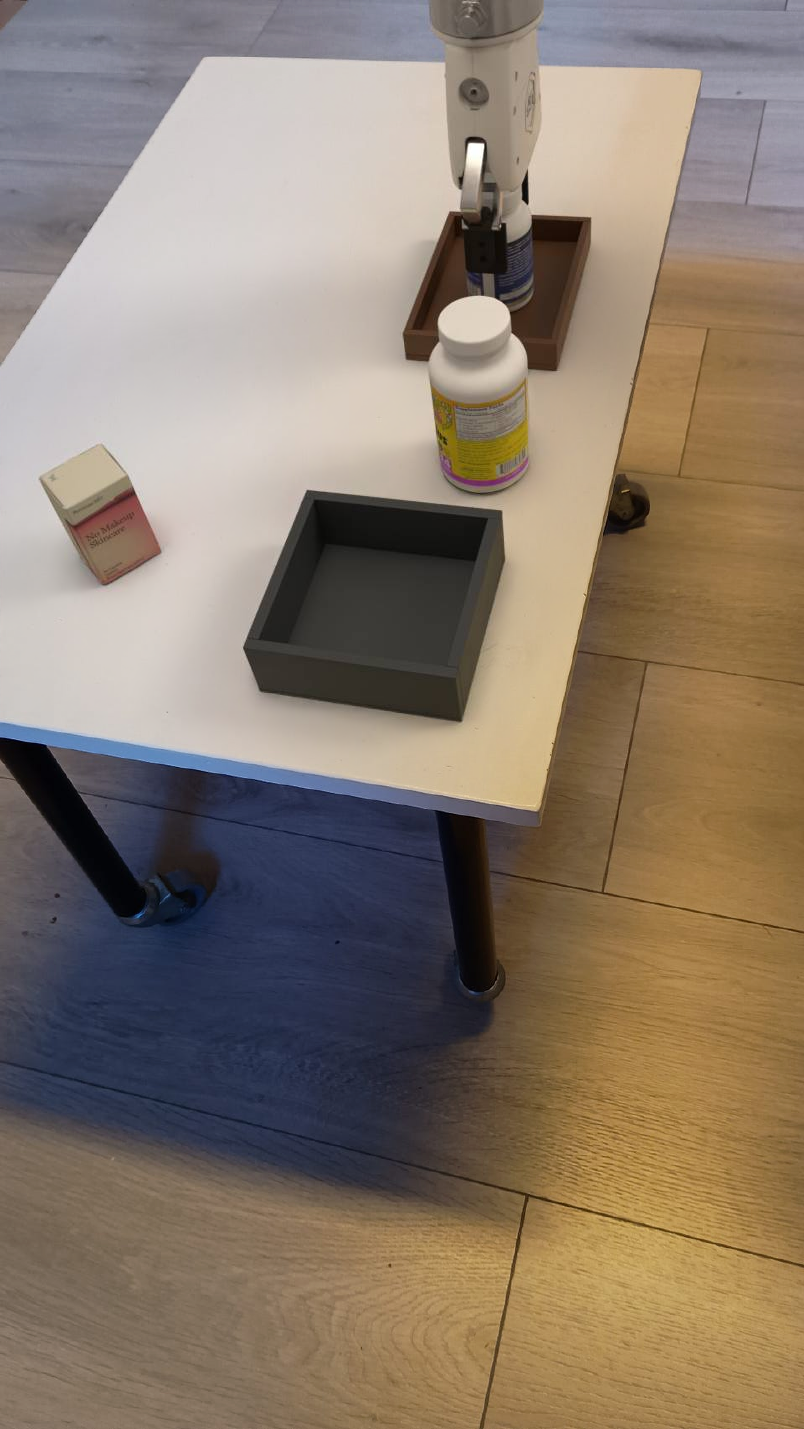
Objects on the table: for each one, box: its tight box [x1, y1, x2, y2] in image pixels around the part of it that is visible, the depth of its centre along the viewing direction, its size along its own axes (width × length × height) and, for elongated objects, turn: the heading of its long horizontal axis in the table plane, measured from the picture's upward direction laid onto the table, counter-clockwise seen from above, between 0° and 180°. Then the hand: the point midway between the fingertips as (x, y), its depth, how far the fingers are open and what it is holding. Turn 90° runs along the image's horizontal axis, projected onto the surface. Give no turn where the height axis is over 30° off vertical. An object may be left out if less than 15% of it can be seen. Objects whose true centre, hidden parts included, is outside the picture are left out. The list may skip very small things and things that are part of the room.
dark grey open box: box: [242, 489, 506, 723], centre depth 73 cm, size 14×14×5 cm
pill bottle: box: [463, 173, 534, 312], centre depth 87 cm, size 5×5×10 cm
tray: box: [402, 210, 592, 371], centre depth 91 cm, size 16×12×2 cm
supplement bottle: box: [427, 296, 531, 494], centre depth 76 cm, size 7×7×13 cm
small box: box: [38, 443, 162, 585], centre depth 78 cm, size 5×4×8 cm
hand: (498, 237), depth 87 cm, fingers open, 7 cm apart
